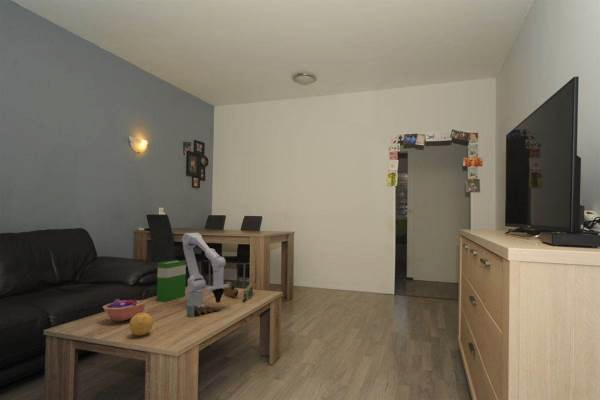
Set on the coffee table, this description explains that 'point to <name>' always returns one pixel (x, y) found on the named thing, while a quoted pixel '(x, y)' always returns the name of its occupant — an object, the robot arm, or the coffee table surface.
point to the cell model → (124, 309)
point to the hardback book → (171, 280)
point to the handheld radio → (248, 292)
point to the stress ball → (141, 324)
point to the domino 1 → (190, 310)
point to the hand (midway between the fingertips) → (218, 302)
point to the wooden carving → (230, 290)
